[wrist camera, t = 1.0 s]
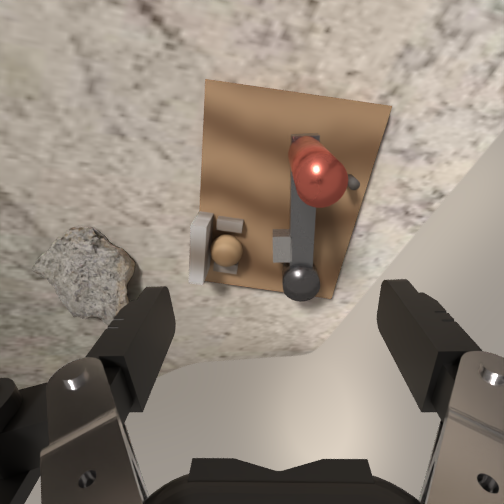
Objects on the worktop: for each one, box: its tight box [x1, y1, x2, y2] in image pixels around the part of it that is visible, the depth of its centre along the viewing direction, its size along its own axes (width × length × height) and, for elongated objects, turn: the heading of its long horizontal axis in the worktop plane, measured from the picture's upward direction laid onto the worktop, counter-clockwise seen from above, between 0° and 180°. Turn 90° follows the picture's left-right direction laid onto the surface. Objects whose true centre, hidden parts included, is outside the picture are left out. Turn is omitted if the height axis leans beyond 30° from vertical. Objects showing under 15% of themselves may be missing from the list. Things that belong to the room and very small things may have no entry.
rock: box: [32, 226, 135, 326], centre depth 38 cm, size 14×4×15 cm
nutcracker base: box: [189, 79, 392, 299], centre depth 31 cm, size 22×17×5 cm
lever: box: [273, 133, 348, 301], centre depth 26 cm, size 17×5×12 cm, turn 3°
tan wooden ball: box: [210, 235, 243, 267], centre depth 33 cm, size 4×4×4 cm
